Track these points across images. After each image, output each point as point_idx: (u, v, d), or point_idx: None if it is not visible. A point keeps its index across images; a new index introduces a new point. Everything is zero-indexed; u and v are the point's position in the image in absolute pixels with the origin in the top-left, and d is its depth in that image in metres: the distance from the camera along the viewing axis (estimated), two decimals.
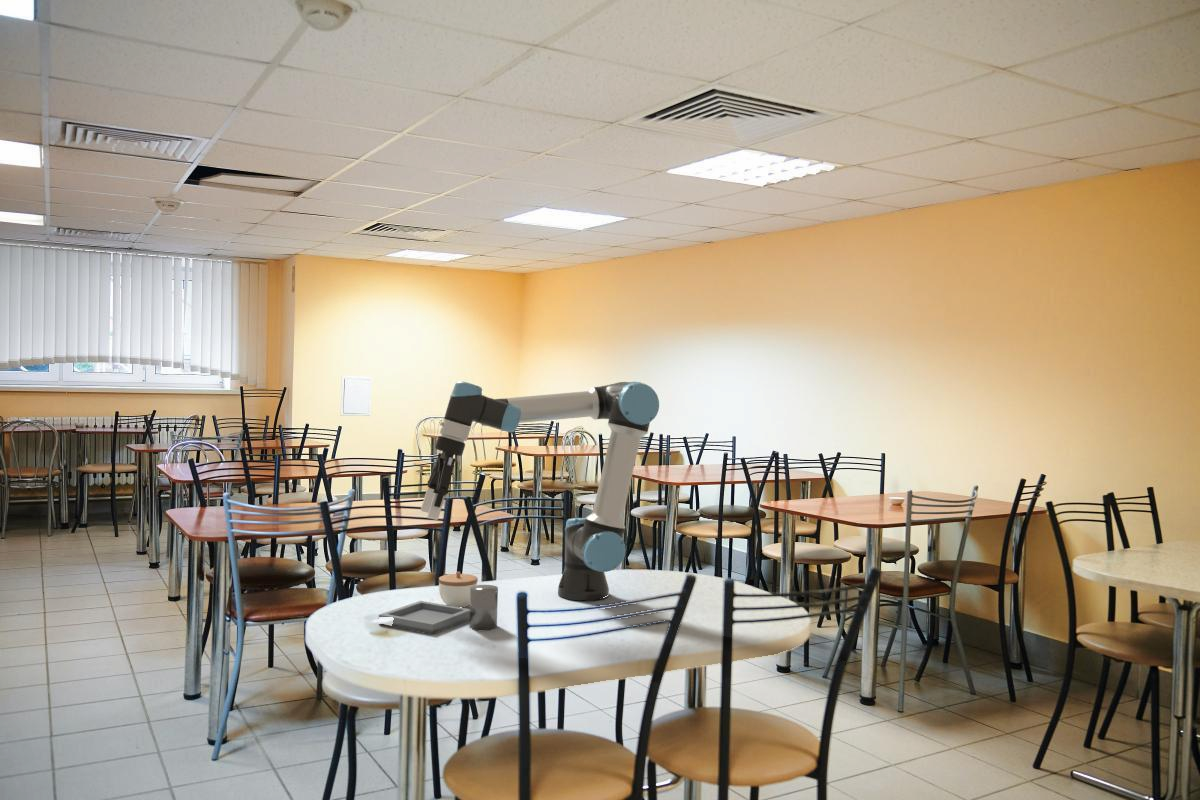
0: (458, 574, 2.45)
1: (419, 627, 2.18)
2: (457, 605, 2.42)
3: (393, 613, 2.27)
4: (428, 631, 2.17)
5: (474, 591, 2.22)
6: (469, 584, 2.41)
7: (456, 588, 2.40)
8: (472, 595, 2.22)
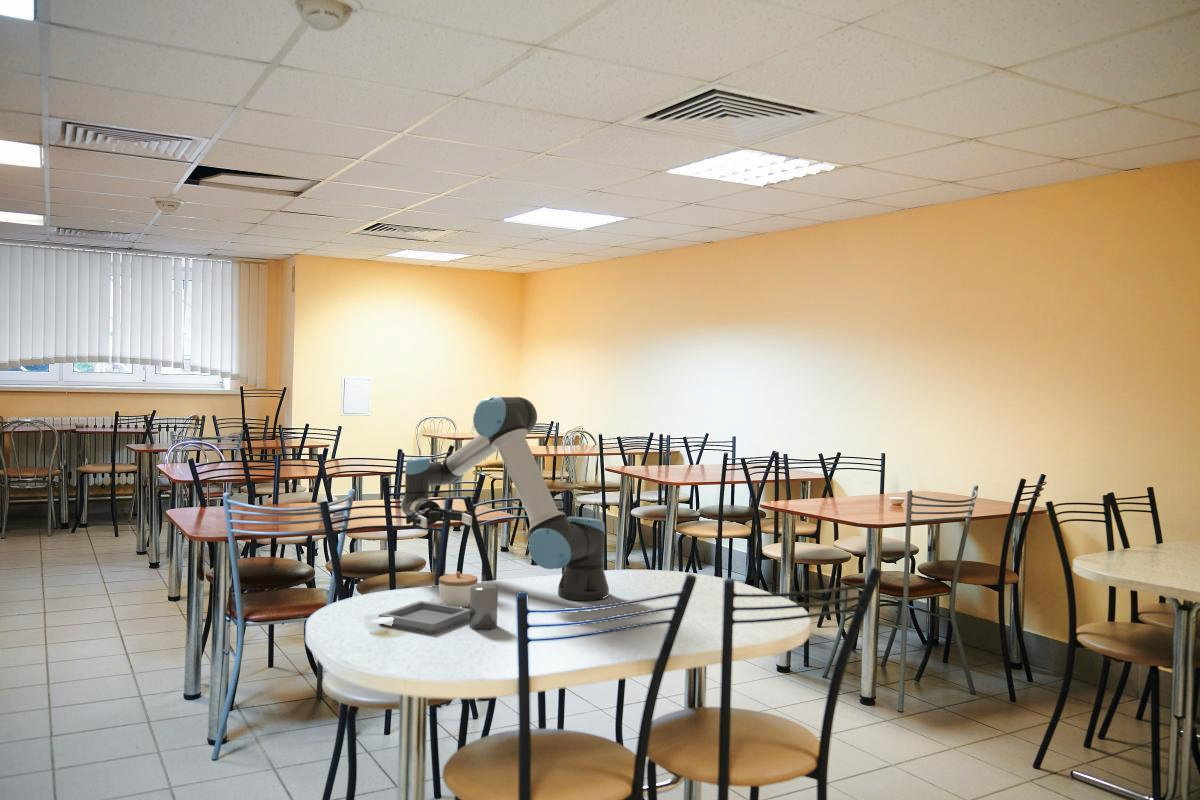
0: (458, 574, 2.45)
1: (419, 627, 2.18)
2: (457, 605, 2.42)
3: (393, 613, 2.27)
4: (428, 631, 2.17)
5: (474, 591, 2.22)
6: (469, 584, 2.41)
7: (456, 588, 2.40)
8: (472, 595, 2.22)
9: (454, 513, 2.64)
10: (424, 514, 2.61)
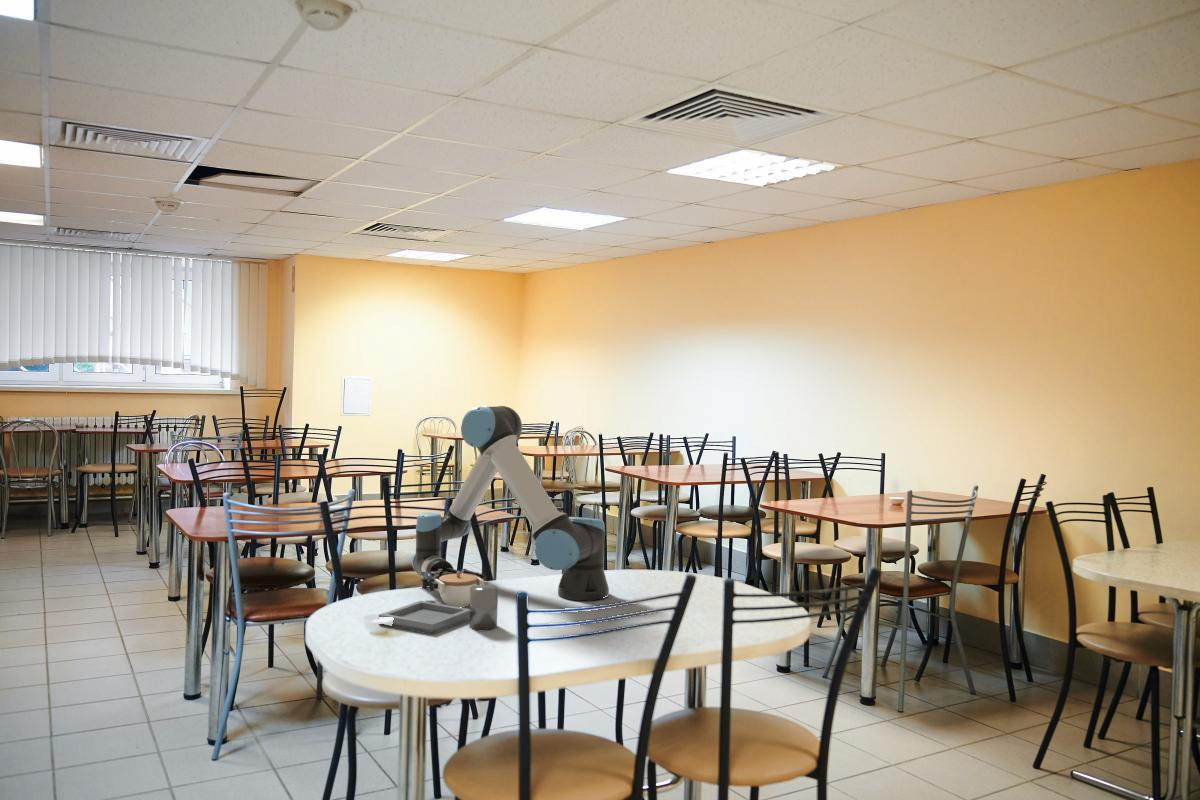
0: (458, 574, 2.45)
1: (419, 627, 2.18)
2: (457, 605, 2.42)
3: (393, 613, 2.27)
4: (428, 631, 2.17)
5: (474, 591, 2.22)
6: (469, 584, 2.41)
7: (456, 588, 2.40)
8: (472, 595, 2.22)
9: None
10: (438, 576, 2.50)
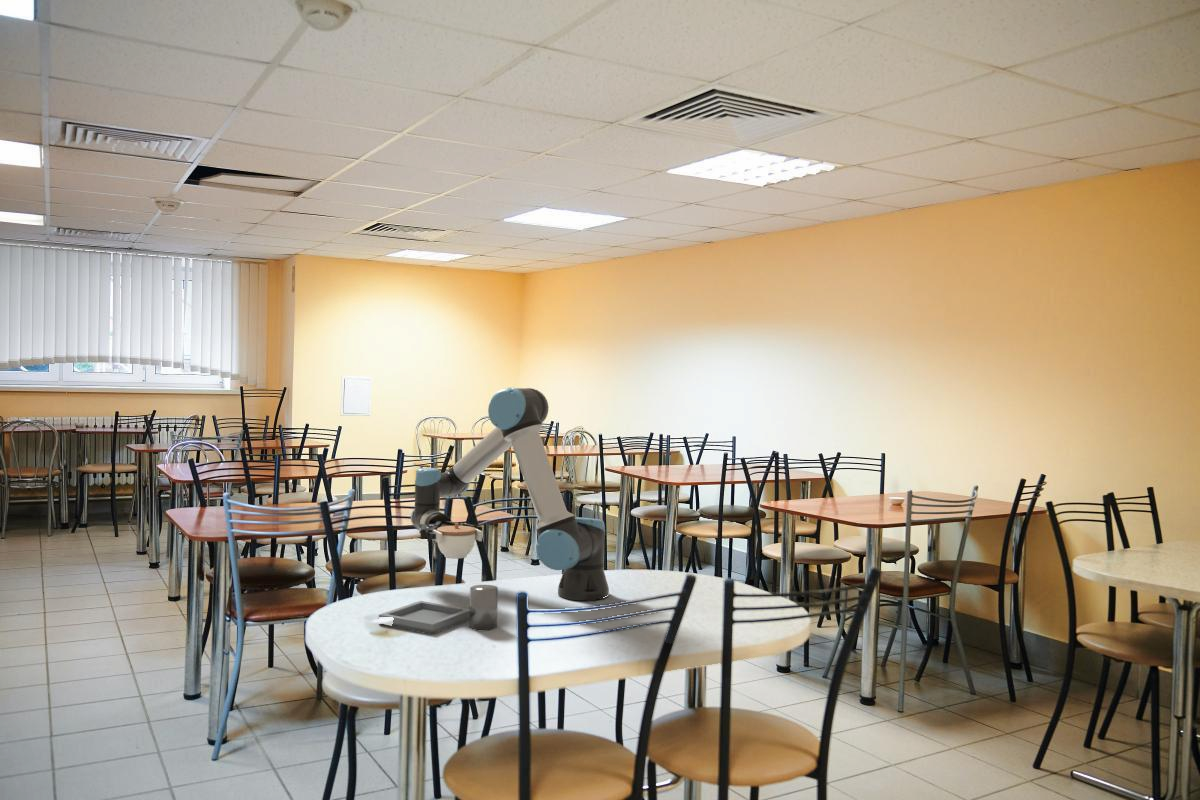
0: (456, 525, 2.44)
1: (419, 627, 2.18)
2: (455, 555, 2.41)
3: (393, 613, 2.27)
4: (428, 631, 2.17)
5: (474, 591, 2.22)
6: (467, 534, 2.40)
7: (454, 538, 2.39)
8: (472, 595, 2.22)
9: None
10: None
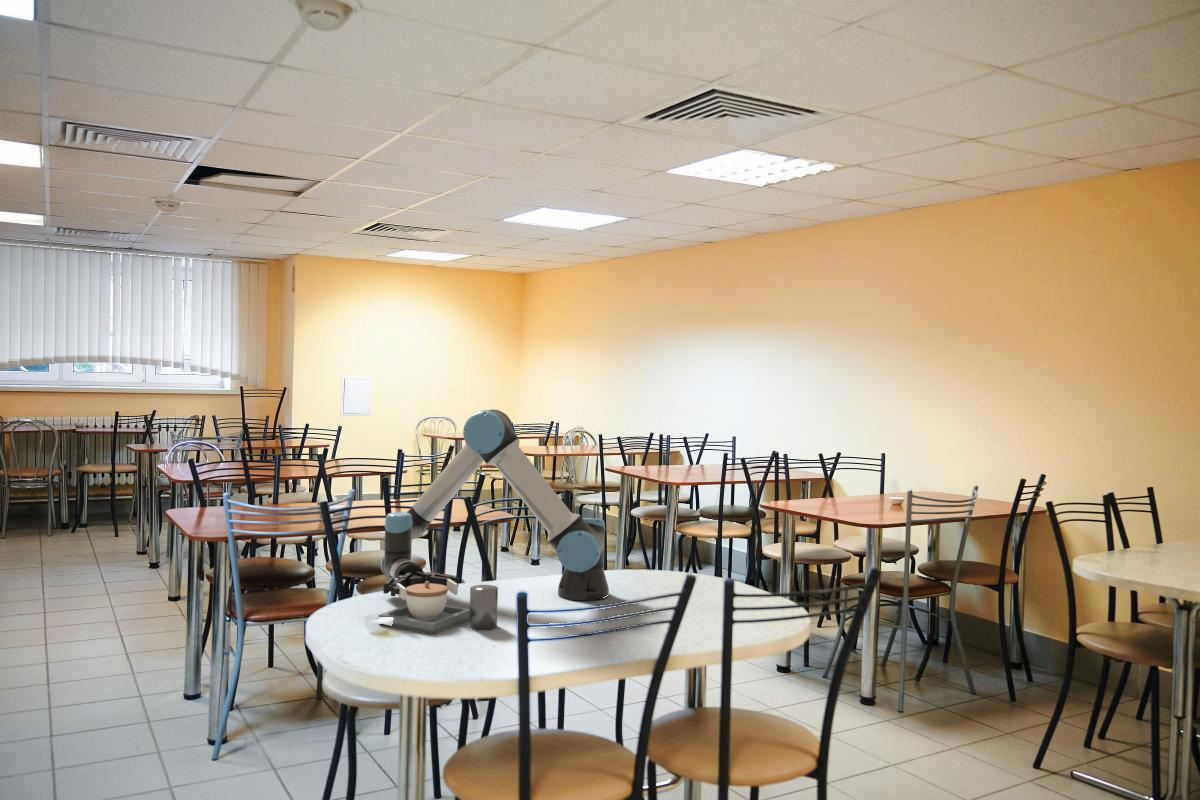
0: (427, 584, 2.27)
1: (419, 627, 2.18)
2: (425, 617, 2.24)
3: (393, 613, 2.27)
4: (428, 631, 2.17)
5: (474, 591, 2.22)
6: (438, 595, 2.24)
7: (424, 599, 2.23)
8: (472, 595, 2.22)
9: (438, 579, 2.36)
10: (404, 581, 2.33)
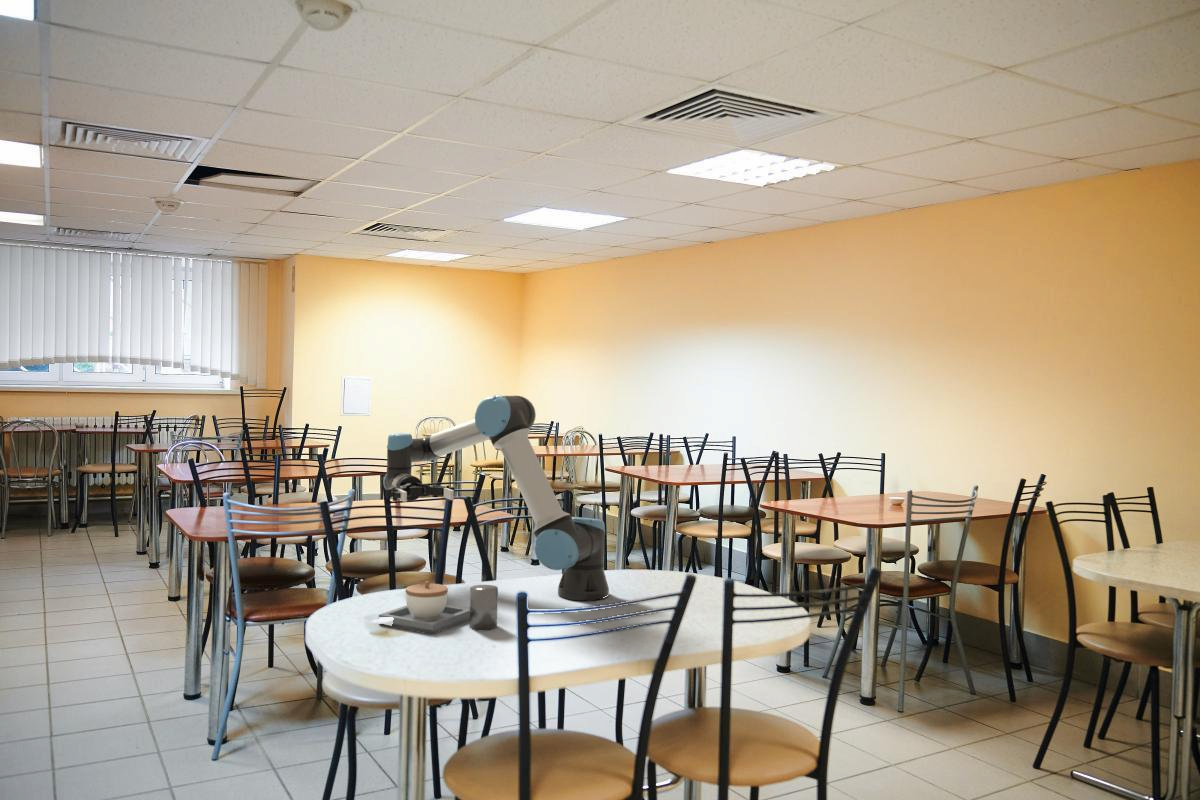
0: (427, 584, 2.27)
1: (419, 627, 2.18)
2: (425, 617, 2.24)
3: (393, 613, 2.27)
4: (428, 631, 2.17)
5: (474, 591, 2.22)
6: (438, 595, 2.24)
7: (424, 600, 2.23)
8: (472, 595, 2.22)
9: (436, 488, 2.58)
10: (405, 489, 2.55)
